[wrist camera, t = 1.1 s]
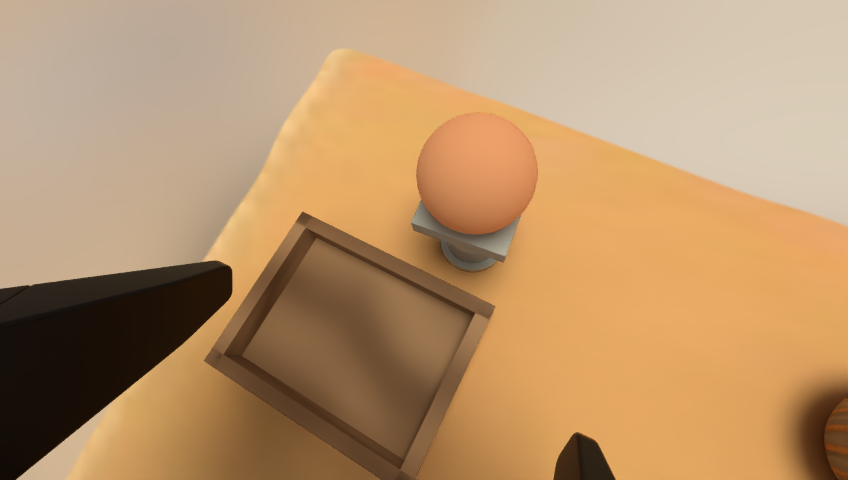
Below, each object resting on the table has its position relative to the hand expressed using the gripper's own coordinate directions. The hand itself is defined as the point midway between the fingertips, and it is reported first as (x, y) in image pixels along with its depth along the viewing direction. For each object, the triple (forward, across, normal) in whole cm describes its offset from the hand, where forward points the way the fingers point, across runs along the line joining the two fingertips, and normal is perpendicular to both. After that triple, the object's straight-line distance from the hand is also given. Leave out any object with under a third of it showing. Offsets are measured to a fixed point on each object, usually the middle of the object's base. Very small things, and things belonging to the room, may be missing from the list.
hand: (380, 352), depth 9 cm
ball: (+9, +1, -2) cm, 9 cm away
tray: (+10, +5, +10) cm, 14 cm away
